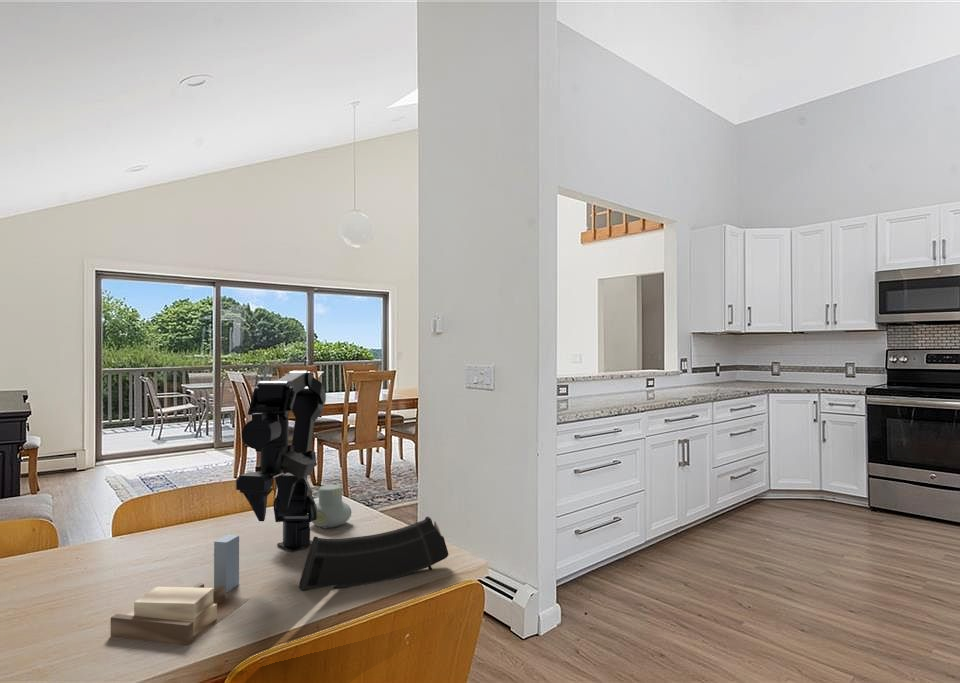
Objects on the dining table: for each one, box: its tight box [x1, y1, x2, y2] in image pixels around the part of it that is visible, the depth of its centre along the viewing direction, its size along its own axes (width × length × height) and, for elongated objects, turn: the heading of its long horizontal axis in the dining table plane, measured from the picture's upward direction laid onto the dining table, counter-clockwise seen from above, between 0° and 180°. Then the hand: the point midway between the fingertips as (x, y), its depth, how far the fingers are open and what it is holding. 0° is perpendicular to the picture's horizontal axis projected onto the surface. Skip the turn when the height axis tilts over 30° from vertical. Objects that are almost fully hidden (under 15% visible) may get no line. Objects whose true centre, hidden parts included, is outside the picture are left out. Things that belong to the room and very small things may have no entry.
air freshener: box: [311, 484, 353, 529], centre depth 152 cm, size 11×8×10 cm
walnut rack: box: [110, 582, 250, 646], centre depth 99 cm, size 16×14×4 cm
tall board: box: [213, 534, 240, 594], centre depth 110 cm, size 4×3×10 cm, turn 170°
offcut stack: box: [126, 586, 217, 636], centre depth 96 cm, size 7×12×5 cm, turn 79°
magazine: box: [298, 516, 449, 591], centre depth 117 cm, size 17×3×30 cm
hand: (273, 514), depth 121 cm, fingers open, 9 cm apart
